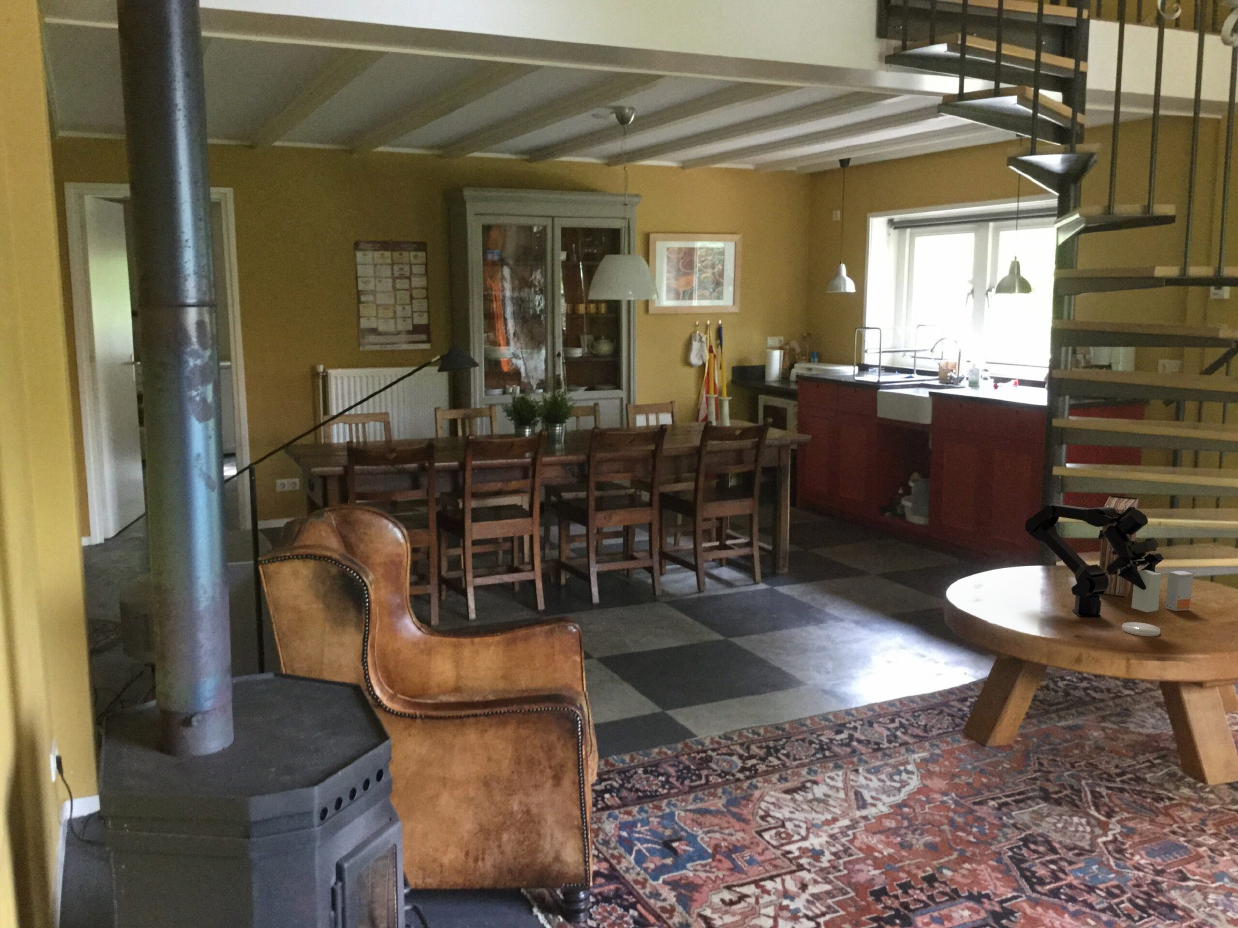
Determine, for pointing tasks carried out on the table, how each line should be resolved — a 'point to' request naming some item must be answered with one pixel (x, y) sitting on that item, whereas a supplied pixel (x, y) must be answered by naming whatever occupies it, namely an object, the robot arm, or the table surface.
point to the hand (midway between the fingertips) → (1151, 588)
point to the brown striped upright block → (1106, 557)
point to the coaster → (1141, 629)
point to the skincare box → (1179, 590)
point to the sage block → (1147, 592)
